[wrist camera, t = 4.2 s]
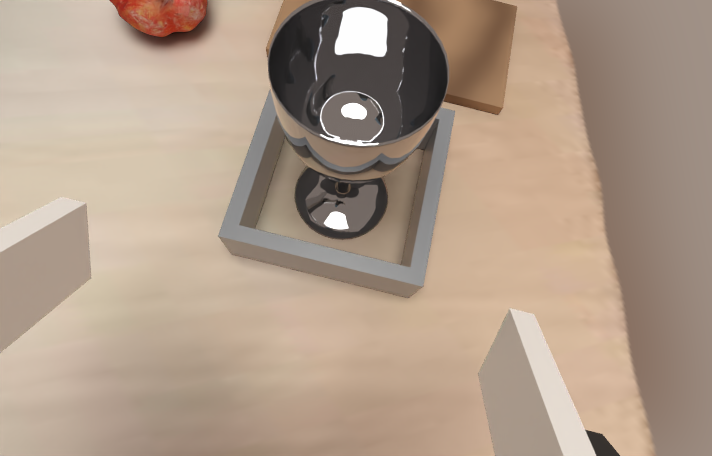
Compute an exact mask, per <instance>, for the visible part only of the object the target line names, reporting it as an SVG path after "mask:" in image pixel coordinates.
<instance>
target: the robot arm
mask: <svg viewBox="0 0 712 456" xmlns="http://www.w3.org/2000/svg"><path fill="white" fill-rule="evenodd" d="M89 279H91V266H90V251H89V235H88V220H87V205H86V203H85V202H81V201H77V200H73V199H68V198H64V197H60V198H58V199H56V200H54V201H52V202H50V203H48V204H46V205H44V206H43V207H41V208H39V209H37V210H35V211H33V212H31V213H29V214H27V215H25V216H23V217H21V218H19V219H17V220H15V221H13V222H11V223H9V224H8V225H6V226H4V227H2V228H0V353H1V352H2V351H3V350H4V349H6V348H7V347H8V346H9V345H10V344H12V343H13V342H14V341H15V340H17V339H18V338H19V337H20V336H21V335H23V334H24V333H25V332H26V331H27V330H29V329H30V328H31V327H32V326H34V325H35V324H36V323H37V322H38V321H40V320H41V319H42V318H43V317H44V316H46V315H47V314H48V313H49V312H51V311H52V310H53V309H54V308H55V307H57V306H58V305H59V304H60V303H61V302H63V301H64V300H65V299H66V298H68V297H69V296H70V295H71V294H72V293H74V292H75V291H76V290H77V289H79V288H80V287H81V286H82V285H83V284H85V283H86V282H87V281H88V280H89ZM478 376H479V381H480V385H481V390H482V395H483V400H484V405H485V409H486V414H487V419H488V424H489V429H490V434H491V438H492V443H493V448H494V453H495V456H620V455H619V454H618V453H617V451H616V450H615V449H614V448H613V447H612V445H611V444H610V443H609V442H608V441H607V439H606V438H605V437H604V436H603V435H602V434H600V433H596V432H592V431H588V430H585V429H584V426H583V424H582V422H581V420H580V417H579V415H578V413H577V411H576V408H575V406H574V404H573V401H572V399H571V397H570V395H569V392H568V390H567V388H566V386H565V383H564V381H563V379H562V376H561V374H560V372H559V370H558V367H557V365H556V363H555V361H554V358H553V356H552V354H551V351H550V349H549V347H548V345H547V342H546V340H545V338H544V336H543V333H542V331H541V329H540V326H539V324H538V322H537V320H536V317H535V315H534V314H531V313H527V312H523V311H519V310H515V309H511V308H509V310H508V312H507V315H506V317H505V319H504V321H503V323H502V325H501V327H500V329H499V331H498V333H497V335H496V337H495V339H494V342H493V344H492V346H491V348H490V350H489V352H488V354H487V356H486V358H485V360H484V362H483V364H482V366H481V369H480V371H479V373H478Z"/></svg>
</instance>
